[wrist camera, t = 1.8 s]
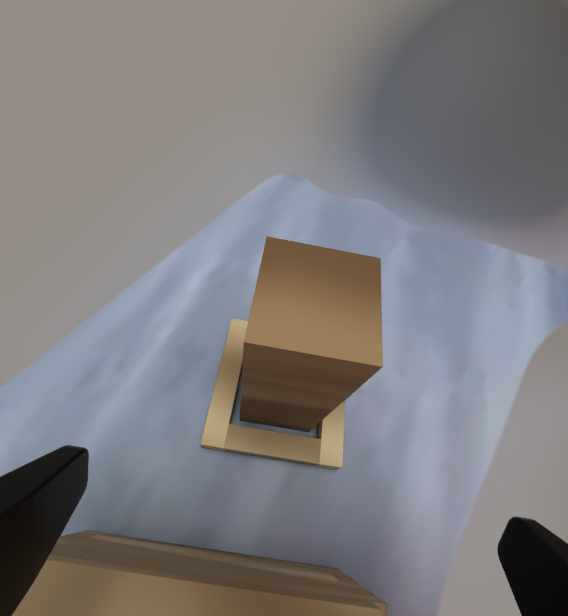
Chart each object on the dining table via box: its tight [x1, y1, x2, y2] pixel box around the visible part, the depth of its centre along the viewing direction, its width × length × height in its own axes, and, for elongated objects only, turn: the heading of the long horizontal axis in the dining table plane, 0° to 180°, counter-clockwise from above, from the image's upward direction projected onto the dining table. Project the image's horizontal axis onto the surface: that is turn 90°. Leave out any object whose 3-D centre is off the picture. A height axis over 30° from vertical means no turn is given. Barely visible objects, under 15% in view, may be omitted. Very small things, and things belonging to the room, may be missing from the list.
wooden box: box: [50, 319, 387, 616], centre depth 12 cm, size 26×12×6 cm, turn 172°
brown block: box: [240, 237, 383, 432], centre depth 15 cm, size 4×4×11 cm
